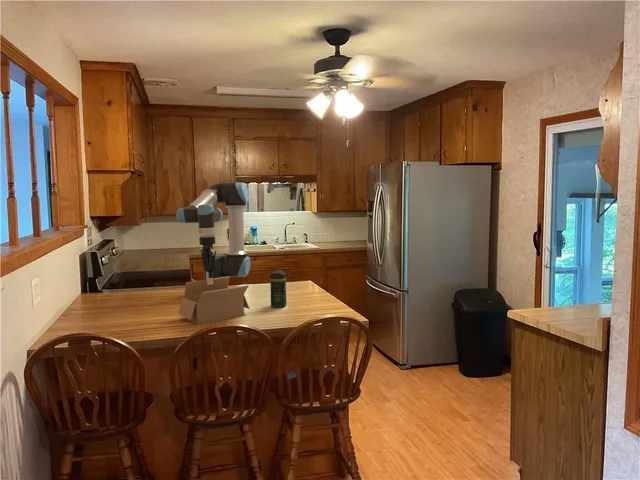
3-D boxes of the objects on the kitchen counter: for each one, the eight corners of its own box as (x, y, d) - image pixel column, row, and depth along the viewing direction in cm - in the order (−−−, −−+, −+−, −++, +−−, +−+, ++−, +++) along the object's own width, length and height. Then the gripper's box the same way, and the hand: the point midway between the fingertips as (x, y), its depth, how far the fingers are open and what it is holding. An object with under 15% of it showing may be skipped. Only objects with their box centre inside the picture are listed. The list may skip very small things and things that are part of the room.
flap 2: (198, 301, 233) (203, 292, 228) (242, 294, 247) (248, 285, 241) (198, 302, 233) (203, 293, 228) (243, 295, 247) (248, 286, 241)
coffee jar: (284, 308, 261) (283, 272, 259) (269, 308, 262) (268, 272, 260) (288, 303, 271) (287, 269, 269) (273, 303, 272) (272, 269, 270)
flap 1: (183, 295, 247) (186, 282, 243) (226, 288, 261) (229, 276, 257) (184, 296, 247) (186, 283, 243) (227, 289, 260) (230, 276, 256)
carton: (177, 319, 245) (176, 298, 244) (235, 308, 264) (234, 288, 262) (191, 326, 233) (189, 304, 232) (250, 314, 251) (249, 293, 250)
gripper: (194, 236, 250) (197, 283, 252) (205, 237, 240) (208, 287, 242) (208, 234, 255) (211, 281, 257) (220, 236, 244) (222, 284, 247)
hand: (209, 284), depth 250 cm, fingers closed
